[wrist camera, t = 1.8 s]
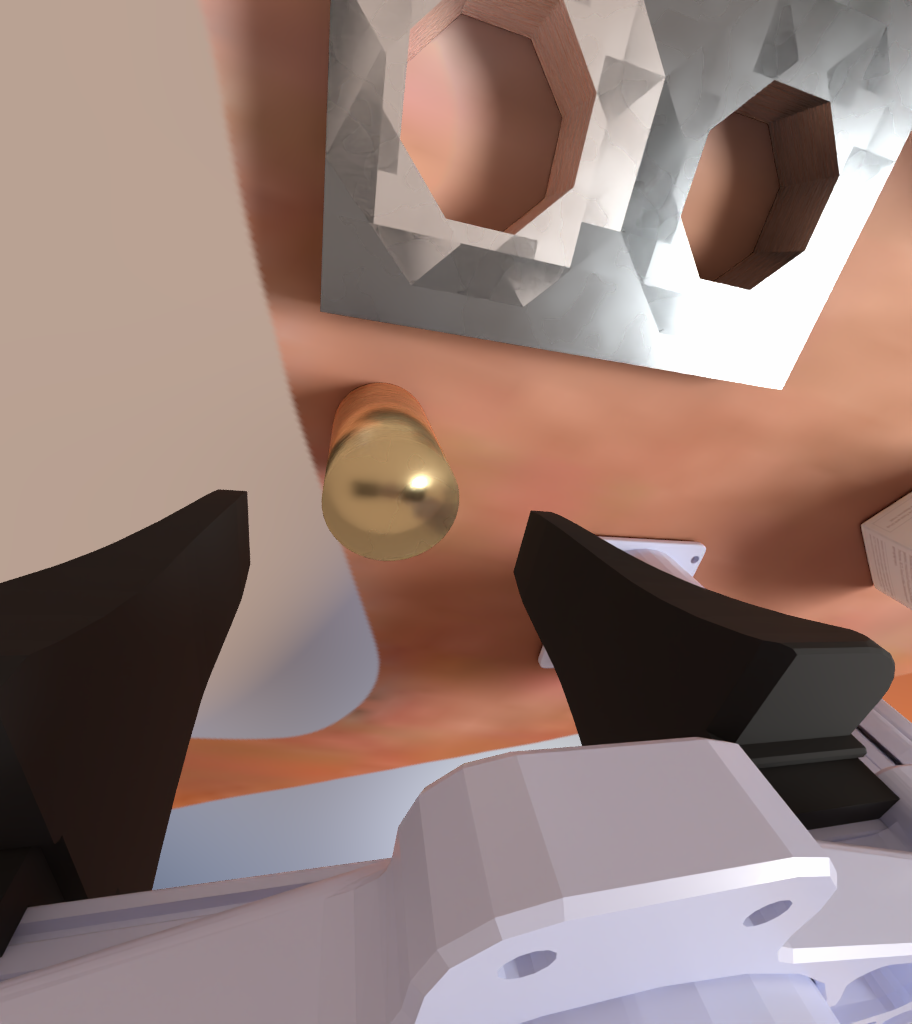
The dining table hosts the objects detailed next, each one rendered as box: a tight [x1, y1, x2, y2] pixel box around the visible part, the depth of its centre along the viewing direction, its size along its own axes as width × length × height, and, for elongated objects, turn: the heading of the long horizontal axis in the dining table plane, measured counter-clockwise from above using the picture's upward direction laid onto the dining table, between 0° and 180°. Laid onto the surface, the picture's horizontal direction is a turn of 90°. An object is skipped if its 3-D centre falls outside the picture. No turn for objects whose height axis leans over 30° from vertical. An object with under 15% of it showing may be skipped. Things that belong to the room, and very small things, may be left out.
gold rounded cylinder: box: [322, 383, 459, 561], centre depth 16 cm, size 4×4×7 cm
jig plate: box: [320, 0, 912, 390], centre depth 15 cm, size 12×19×2 cm, turn 80°
